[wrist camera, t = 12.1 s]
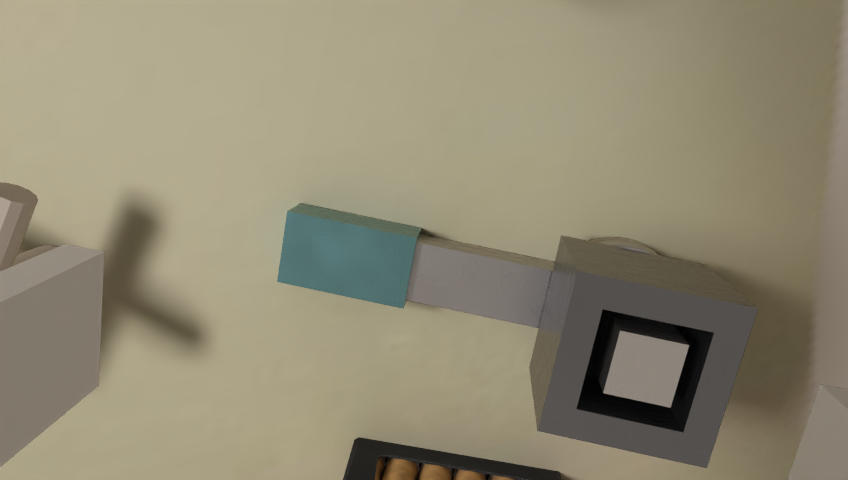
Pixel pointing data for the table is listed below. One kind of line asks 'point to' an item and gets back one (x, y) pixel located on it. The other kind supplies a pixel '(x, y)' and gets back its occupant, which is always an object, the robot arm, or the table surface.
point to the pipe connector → (16, 224)
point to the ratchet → (471, 289)
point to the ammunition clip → (430, 465)
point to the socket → (652, 299)
